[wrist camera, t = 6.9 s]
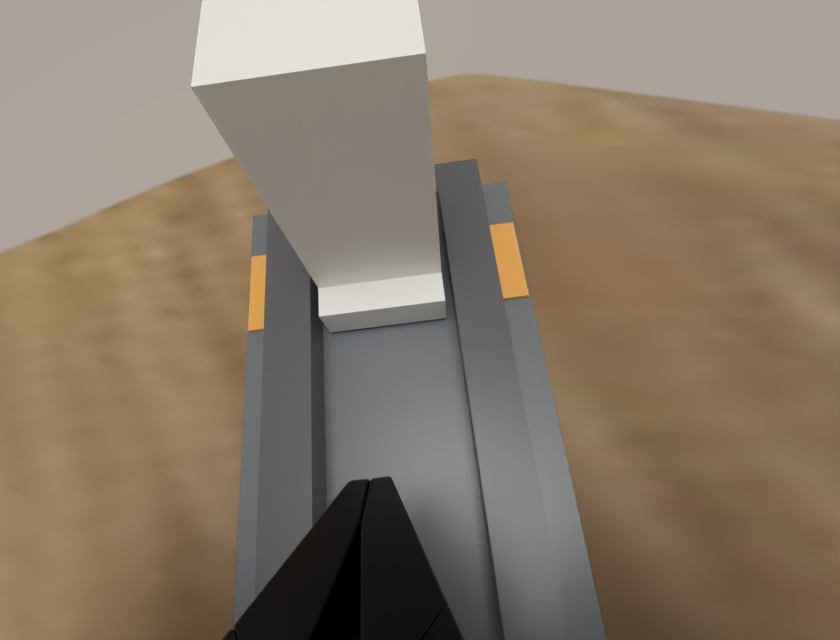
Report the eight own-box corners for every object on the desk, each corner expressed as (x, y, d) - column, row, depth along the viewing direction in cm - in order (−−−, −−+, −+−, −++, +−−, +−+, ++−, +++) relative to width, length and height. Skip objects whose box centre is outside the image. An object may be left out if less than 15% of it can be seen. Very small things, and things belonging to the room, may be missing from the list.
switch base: (595, 664, 13) (639, 713, 10) (259, 698, 14) (197, 756, 10) (501, 212, 20) (509, 154, 16) (272, 243, 20) (236, 191, 17)
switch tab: (446, 317, 15) (432, 96, 7) (330, 332, 16) (184, 131, 7) (429, 198, 17) (404, -85, 9) (327, 212, 18) (209, -54, 9)
